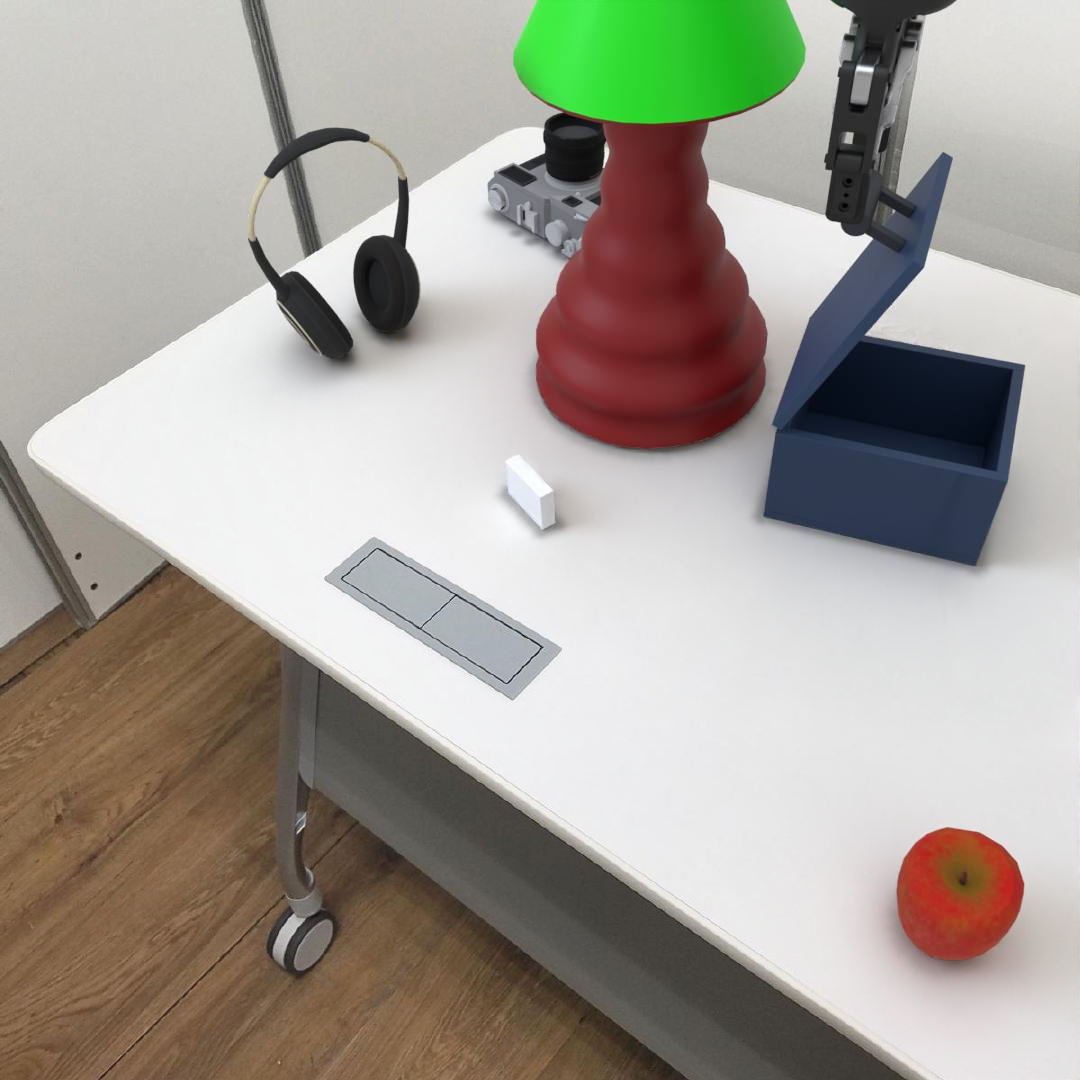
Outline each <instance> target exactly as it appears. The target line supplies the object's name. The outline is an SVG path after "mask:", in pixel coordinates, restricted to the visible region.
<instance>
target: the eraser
mask: <svg viewBox="0 0 1080 1080" xmlns="http://www.w3.org/2000/svg"><path fill="white" fill-rule="evenodd" d="M504 467H505V475H506V485H507V493H508V495H509V496H510V497H511V498H512V499H513V500H514V501H515V502H516V503H517V505H518V506H519V507H520V508H521V509H522V510H523V511H524V512H525V513H526V514H527V516H529V518H531V519H532V520H533V521H534V522H535V524H536V525H537V527H539V528H540V529H541V530H542V531H543V530H545V529H547V528H549V527H551V526H553V525H555V524H556V509H555V498H554V497H555V494H554V493H555V492H554V489H552V487H551V486H550V485H548V483H546V481H545V480H544V479H543V478H542V477H541V476H540V475H539V474H538V473H537V472H536V471H535V470H534V469H533V468H532V467H531V466H530V465H529V464H528V463H527V462H526V461H525V460H524V459H523V458H522V457H521V456H520V455H519V454H515V455H514V456H512V457H510V458H508V459H506V460H504Z"/></svg>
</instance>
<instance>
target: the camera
mask: <svg viewBox="0 0 1080 1080" xmlns="http://www.w3.org/2000/svg"><path fill="white" fill-rule="evenodd" d="M542 140H543V143H544V153H541V154H539V155H537V156H535V157H533V158H530V159H529V160H526V161H524V162H522V163H520V164H517V163H516V162H512V163H509V164H507V165H505V166H502V167H500V168H498V169H496V170H494V171H493V177H492V178H490V180H488V182H487V199H488V203H489V205H490V207H491V208H492V209H493V210H494V211H496V212H497V213H499V214H501V215H503V216H504V217H506V218H508V219H510V220H512V221H513V222H514V223H517V225H519V226H522V227H523V228H525V229H527V230H529V231H530V232H531V233H533V234H536V235H537V236H540V237H541V238H543V239H547V241H548V242H549V243H550V244H551V245H552V246H554V247H560V246H562V245H563V248H561V249H560V253H561V254H562V255H563V256H565V257H567V258H569V259H570V258H571V257H572V256H573V255H574V254H575V253H576V252H577V251H578V250H579V249H580V248H581V239H582V234H583V231H584V227H585V225H586V223H587V222H588V220H589V219H590V217H591V215H592V214H593V213H594V211H595V210H596V209H597V208H598V207H599V205H600V204H601V190H600V182H601V177H602V173H603V170H604V166H605V165H604V163H605V153H606V152H605V151H606V150H605V146H606V145H605V144H607V141H606V137H605V134H604V127H603V123H598V122H593V121H589V120H586V119H582V118H578V117H575V116H571V115H568V114H566V113H564V112H559V113H556V114H553V115H551V116H550V117H548V118H547V119H546V120H545V122H544V124H543V132H542Z"/></svg>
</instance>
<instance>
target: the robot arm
mask: <svg viewBox="0 0 1080 1080" xmlns="http://www.w3.org/2000/svg"><path fill="white" fill-rule="evenodd" d="M830 2H831V3H833V4H834V5H836V6H837V7H839V8H842V9H846V10H848V11H850V12H851V13H853V14H852V16H851V19H850V24H849V31H848V32H845V33H844V34H843V38H842V41H841V47H840V51H839V54H838V62H839V64H840V66H839V68H838V69H837V78H838V80H837V81H838V82H837V85H836V89H835V94H834V98H833V103H832V107H831V114H832V122H831V128H830V133H829V140H828V148H827V151H826V153H825V154H824V160H823V163H824V164H825V166H824V170H826V171H831V174H830V181H829V187H828V193H827V194H828V195H827V200H826V207H825V218H826V219H827V220H828V221H830V222H834V223H840V224H841V223H847V224H853V225H855V224H859V223H860V222H861V221H862V219H863V216H864V214H865V209H866V204H867V198H868V193H869V187H870V182H871V177H872V171H873V170H875V168H876V167H875V166H876V165H878V162H879V158H880V154H882V153H884V152H885V151H886V150H887V148H888V146H889V142H890V137H891V132H892V127H893V124H894V123H895V121H896V116H897V111H898V107H899V103H900V100H901V99H900V98H901V95H902V91H903V86H905V84H906V79H907V76H909V75H911V73H912V70H913V65H914V61H915V58H916V53H917V52H918V51H919V47H920V43H921V40H922V36H923V32H924V28H925V27H924V26H925V20H924V19H923V20H922V19H918V16H922V17H924V16H928V15H932V14H935V13H938V12H941V11H943V10H945V9H946V8H947V9H948V7H950V6H952V5H953V4H954V3H956V2H957V0H830ZM847 133H852V140H851V143H846V142H845V141H846V137H847Z"/></svg>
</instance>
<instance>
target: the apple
mask: <svg viewBox="0 0 1080 1080" xmlns="http://www.w3.org/2000/svg"><path fill="white" fill-rule="evenodd" d="M895 891H896V903H897V904H896V905H897V914H898V918H899V921H900V923H901V926H902V929H903V931H904V933H905V934H906V936H907V938H909V940H910V941H911V942H912V944H914V946H915V947H916V948H917V949H919V950H920V951H921V952H923V953H924V954H926V955H927V956H929V957H930V958H934V959H939V960H943V961H964V960H971V959H974V958H977V957H980V956H982V955H984V954H986V953H987V952H989V951H990V950H992V949H993V948H994V947H996V946H997V945H998V944H999V943H1000V942H1001V941H1002V940H1003V939H1004V937H1005V936H1007V934H1008V933H1009V932H1010V930H1011V929H1012V928H1013V926H1014V924H1015V922H1016V920H1017V917H1018V916H1019V914H1020V912H1021V909H1022V904H1023V899H1024V894H1025V880H1024V878H1023V875H1022V872H1021V870H1020V866H1019V863H1018V861H1017V860H1016V859H1015V858H1014V856H1012V854H1011V853H1010V852H1009V851H1008V850H1007V848H1006V847H1005V846H1003V845H1002V844H1000V843H998V842H997V841H995V840H994V839H992V838H990V837H989V836H987V835H985V834H984V833H982V832H980V831H974V830H969V829H962V828H956V827H950V826H946V827H942V828H939V829H935V830H933V831H931V832H928V833H926V834H925V835H924V836H922V837H921V838H919V839H918V840H917V841H916V842H914V844H913V845H912V847H911V848H910V849H909V851H908V852H907V853H906V855H904V857H903V858H902V863H901V866H900V868H899V873H898V877H897V881H896V890H895Z"/></svg>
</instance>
